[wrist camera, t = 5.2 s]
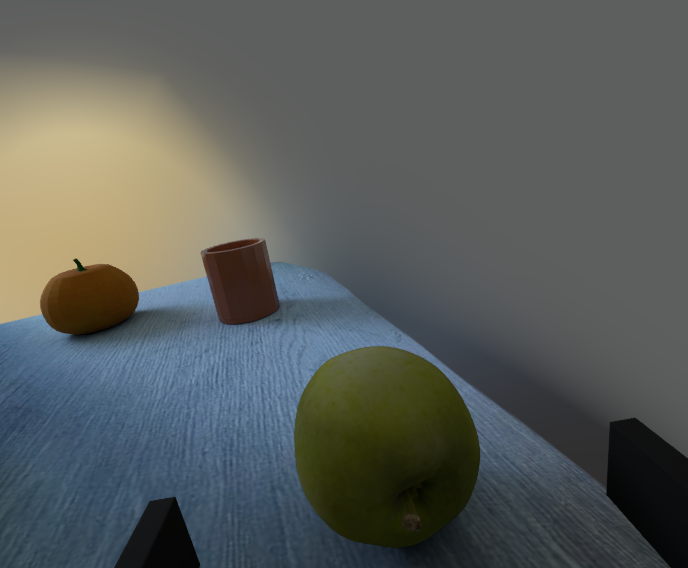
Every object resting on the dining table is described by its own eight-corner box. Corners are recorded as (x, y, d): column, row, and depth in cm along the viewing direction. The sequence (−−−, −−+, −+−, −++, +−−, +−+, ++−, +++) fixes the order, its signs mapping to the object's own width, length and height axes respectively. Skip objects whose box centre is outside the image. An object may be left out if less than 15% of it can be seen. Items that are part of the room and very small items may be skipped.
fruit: (35, 351, 48) (3, 277, 45) (73, 321, 59) (49, 260, 56) (134, 328, 50) (109, 256, 47) (152, 303, 61) (133, 244, 58)
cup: (275, 297, 54) (262, 235, 51) (283, 313, 46) (267, 243, 44) (220, 310, 52) (203, 247, 49) (218, 329, 44) (198, 257, 42)
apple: (348, 662, 12) (302, 468, 10) (294, 473, 21) (262, 343, 18) (536, 560, 14) (533, 380, 12) (417, 425, 23) (403, 304, 21)
